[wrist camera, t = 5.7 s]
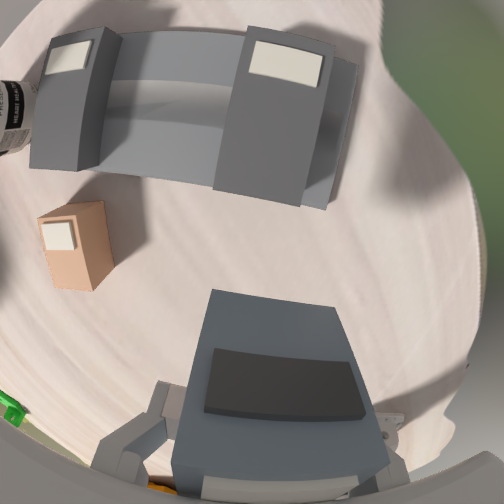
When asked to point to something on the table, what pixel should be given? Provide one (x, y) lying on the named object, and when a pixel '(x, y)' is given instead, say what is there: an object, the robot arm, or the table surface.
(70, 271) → the block
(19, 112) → the supplement can
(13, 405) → the mechanical part
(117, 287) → the table surface
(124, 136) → the rail base
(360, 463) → the module
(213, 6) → the table surface
